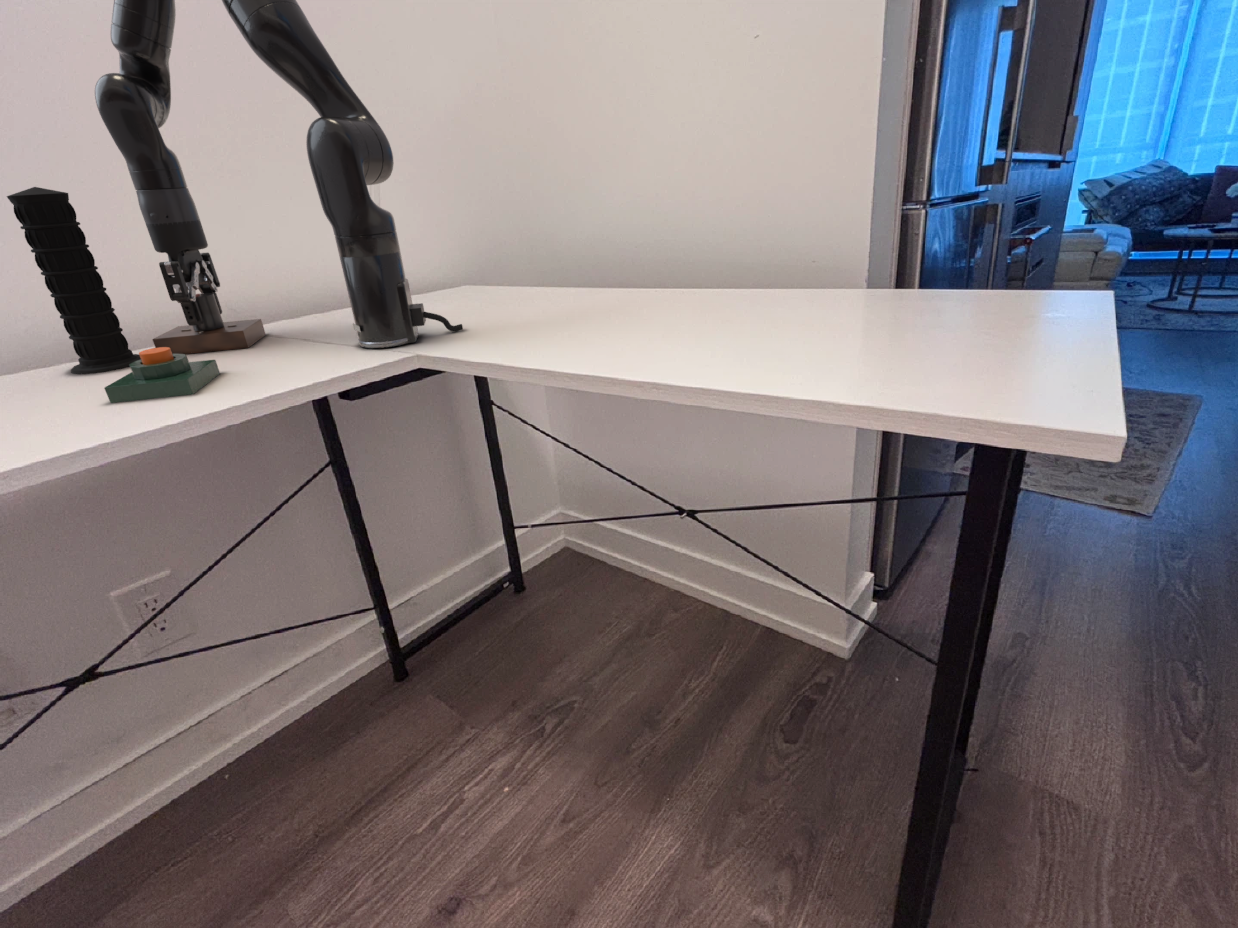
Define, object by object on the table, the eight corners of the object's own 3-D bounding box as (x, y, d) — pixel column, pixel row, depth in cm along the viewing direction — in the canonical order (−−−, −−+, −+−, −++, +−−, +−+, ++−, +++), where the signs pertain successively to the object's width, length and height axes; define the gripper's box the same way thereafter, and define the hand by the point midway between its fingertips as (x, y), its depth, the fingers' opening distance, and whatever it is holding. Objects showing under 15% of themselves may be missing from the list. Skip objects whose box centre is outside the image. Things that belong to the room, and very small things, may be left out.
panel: (266, 334, 115) (260, 317, 114) (248, 348, 106) (242, 329, 105) (183, 342, 113) (177, 325, 112) (158, 356, 104) (151, 338, 103)
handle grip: (54, 374, 97) (106, 375, 95) (-32, 190, 86) (25, 186, 84) (112, 356, 106) (161, 356, 104) (42, 187, 94) (95, 183, 92)
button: (179, 358, 87) (174, 345, 87) (167, 364, 84) (163, 352, 83) (150, 360, 87) (146, 348, 86) (138, 367, 84) (133, 355, 83)
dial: (199, 326, 110) (188, 292, 107) (228, 323, 111) (217, 290, 108) (189, 332, 106) (177, 297, 103) (219, 329, 107) (207, 294, 104)
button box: (220, 373, 92) (211, 347, 91) (193, 394, 83) (182, 365, 82) (146, 381, 91) (135, 354, 89) (110, 403, 82) (98, 374, 80)
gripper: (178, 220, 95) (214, 326, 102) (214, 215, 108) (243, 309, 115) (124, 224, 94) (164, 330, 101) (167, 218, 106) (199, 313, 113)
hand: (206, 319), depth 108 cm, fingers open, 8 cm apart
